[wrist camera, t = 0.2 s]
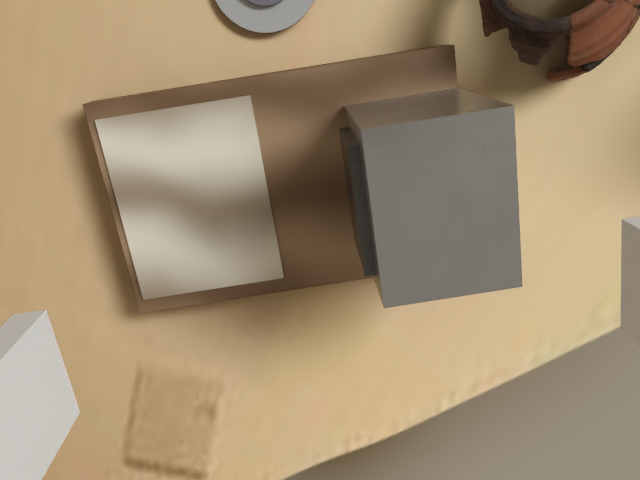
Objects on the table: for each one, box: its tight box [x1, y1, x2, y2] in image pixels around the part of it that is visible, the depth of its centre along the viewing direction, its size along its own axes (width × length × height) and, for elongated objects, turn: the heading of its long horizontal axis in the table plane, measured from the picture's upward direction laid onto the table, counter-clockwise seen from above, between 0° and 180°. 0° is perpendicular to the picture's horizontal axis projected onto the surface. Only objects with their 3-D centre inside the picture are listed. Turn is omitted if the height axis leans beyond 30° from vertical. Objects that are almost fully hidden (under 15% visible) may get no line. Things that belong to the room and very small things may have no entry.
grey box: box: [339, 88, 522, 308], centre depth 34 cm, size 9×8×10 cm
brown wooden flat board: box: [83, 45, 457, 313], centre depth 39 cm, size 14×22×2 cm, turn 99°
